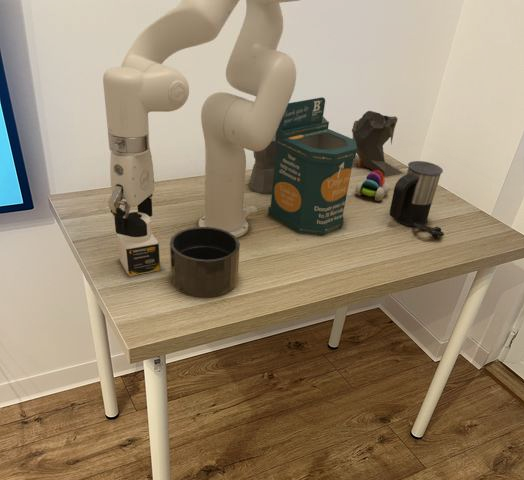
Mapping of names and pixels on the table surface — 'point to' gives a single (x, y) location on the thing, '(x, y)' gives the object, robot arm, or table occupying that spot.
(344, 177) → the donation box
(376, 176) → the rainbow caterpillar toy
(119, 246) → the medicine bottle
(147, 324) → the table surface
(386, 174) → the grey walrus sculpture
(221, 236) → the bucket
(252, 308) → the table surface
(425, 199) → the milk frother
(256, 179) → the coffeepot
